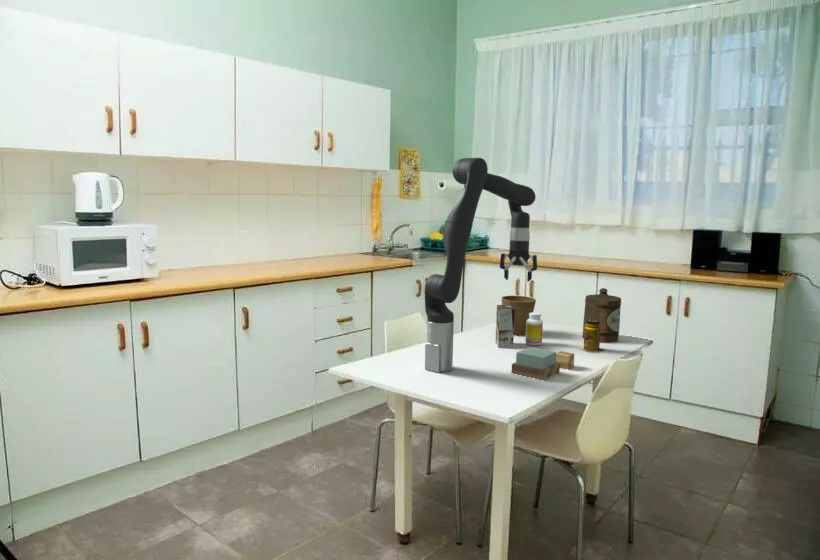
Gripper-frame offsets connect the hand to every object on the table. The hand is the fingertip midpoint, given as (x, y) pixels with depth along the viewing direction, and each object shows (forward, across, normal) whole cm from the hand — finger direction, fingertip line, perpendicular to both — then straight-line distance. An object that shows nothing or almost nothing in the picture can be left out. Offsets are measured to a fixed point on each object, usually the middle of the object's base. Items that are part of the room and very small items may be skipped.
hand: (517, 280), depth 234 cm
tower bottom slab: (+28, +13, -30) cm, 43 cm away
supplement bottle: (+28, +6, +11) cm, 30 cm away
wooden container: (+28, +31, +32) cm, 52 cm away
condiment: (+28, +29, +11) cm, 42 cm away
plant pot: (+28, -4, +26) cm, 38 cm away
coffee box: (+28, -5, +4) cm, 29 cm away
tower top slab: (+24, +13, -30) cm, 41 cm away
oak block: (+28, +21, -18) cm, 39 cm away
